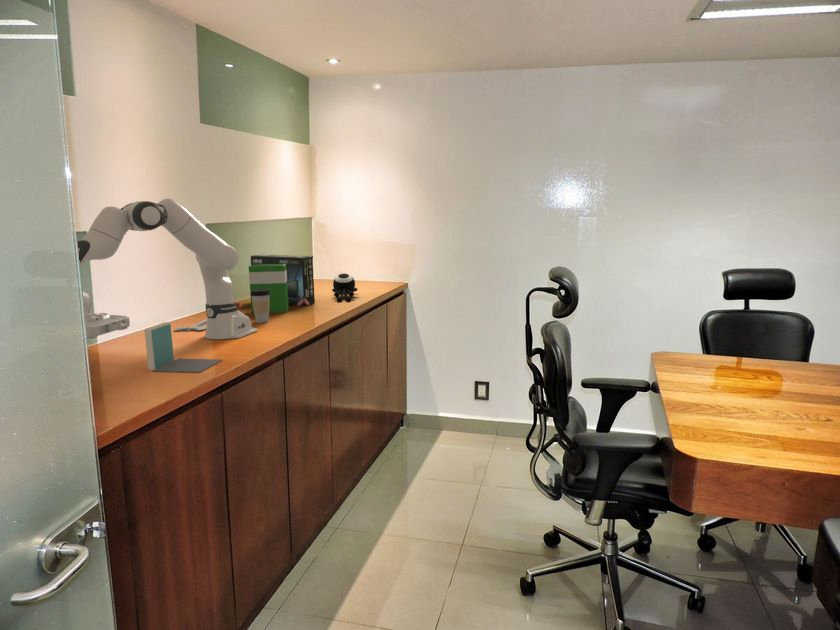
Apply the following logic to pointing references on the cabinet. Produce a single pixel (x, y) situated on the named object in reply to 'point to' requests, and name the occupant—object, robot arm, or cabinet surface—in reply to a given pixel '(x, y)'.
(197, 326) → the driftwood branch
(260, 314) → the coffee cup
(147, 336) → the ceramic tile
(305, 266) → the router box
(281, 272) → the green cereal box
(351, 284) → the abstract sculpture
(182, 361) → the rubber mat
